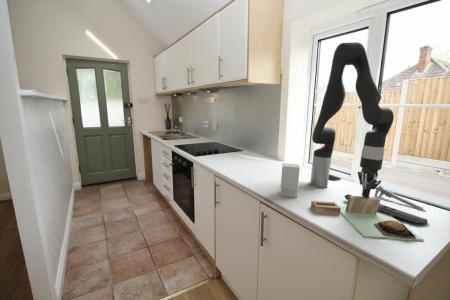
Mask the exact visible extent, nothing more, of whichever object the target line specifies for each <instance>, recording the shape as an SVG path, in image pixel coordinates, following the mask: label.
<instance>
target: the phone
mask: <svg viewBox="0 0 450 300" xmlns="http://www.w3.org/2000/svg"><path fill="white" fill-rule="evenodd" d="M341 179H342V178H341V177H338V176H335V175H332V174H330V173H329V178H328V181H333V182H337V181H341Z"/></svg>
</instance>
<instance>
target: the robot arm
mask: <svg viewBox="0 0 450 300" xmlns="http://www.w3.org/2000/svg"><path fill="white" fill-rule="evenodd" d="M346 66H353V68H354V69H355V71H356V80H355V91H356V93H357V97H358V99H359V101H360V103H361V113H362V118H363V120H364V121H365V122H366V123H367V124H368V125H370V126H372V128H371V130H369V131H367V132H366V133H365V136H364V142H363V145H362V146H363V147H362V148H361V149H362V150H361V155H360V161H359V162H360V163H359V167H360V168H361V171H357V175H358V180H359V184H360V186H361V187H362V190H361V191H362V193H361V196H362V197H370V193H371V190H376V189H377V187H379V186H380V184H381V183H382V181H381V179H379V178H378V176H379V174H378V173H379V171H381V170H382V167H383V160H384V157H385V145H386V139H387V135H388V134H389V132H390V129H391V127H392V125H393V122H394V117H395V116H394V112H393V110H392V109H391V108H389V107H383V106H380V105H379V102H380V101H381V100H382V95H381V92H380V91H379V89H378V86H377V85H376V82H375V80H374V77H373V75H372V72H371V71H372V70H371V68H370V67H371V66H370V62H369V59H368V54H367V52H366V48H365V47H364V44H363V43H361V42H358V41H357V42H355V41H354V42H342V43H340V44H338V45H337V46H336V48H335V50H334V52H333V57H332V61H331V66H330V67H331V68H330V73H329V77H328V82H327V86H326V90H325V93H324V96H323V99H322V103H321V107H320V111H319V114H318V118H317V121H316V124H315V127H314V129H313V131H312V137H311V138H312V142H313V143H314V144H316V145H324V146H322V147H320V148H317V149H315V150H314V151H313V156H312V164H311V173H310V181H309V185H311V186H312V187H315V188H320V189H325V188H327V187H328V183H329V179H328V178H329V174H330V171H331V170H330V168H331V162H332V155H333V151H334V148H335V147H334V145H335V141H336V136H337V135H336V130H335V128H333V127H325V126H326V125H327V124H328V122H329V120H331V118H333V117H334V116H335V115H336V114H337V113H338V112H340V110H341V109H342V107H343V104H344V102H345V100H346V95H347V93H346V88H345V83H344V80H343V75H344V71H345V67H346Z"/></svg>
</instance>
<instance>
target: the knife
mask: <svg viewBox="0 0 450 300" xmlns="http://www.w3.org/2000/svg"><path fill="white" fill-rule="evenodd" d="M349 196H352V195H351V194H348V193H347V194H346V195H344V199H345V200H347V201H348V198H349ZM378 211H381V212H384V213H387V214H389V215H390V216H392V217H394V218H395V217H396V218H398V219H402V220H405V221H407V222H411V223H419V224H420V223H421V224H422V223H423V224H426V223H428V222H429V221H428V219H427V218H424V217H421V216H418V215H415V214H411V213H408V212H406V211H402V210H400V209H396V208H393V207H392V206H391V207H390V206H387V205H384V204H383V203H382V204H381V203H380V204H379V207H378Z"/></svg>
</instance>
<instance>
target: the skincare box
mask: <svg viewBox="0 0 450 300" xmlns="http://www.w3.org/2000/svg"><path fill="white" fill-rule="evenodd" d="M300 170H301V168H300V164H299V163H298V164H297V163H285V162H282V167H281V178H280V179H281V180H280V196H281V197H288V198H295V199H297V198H298V193H299V190H298V189H299V180H300V179H299V178H300Z"/></svg>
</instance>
